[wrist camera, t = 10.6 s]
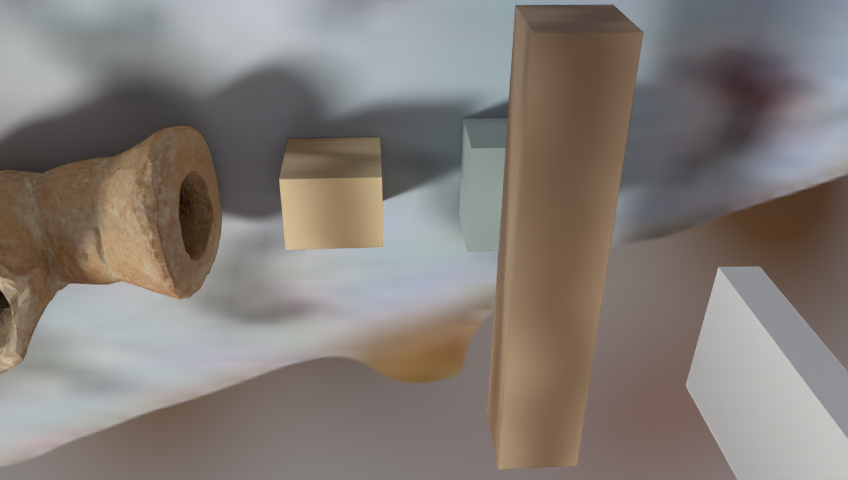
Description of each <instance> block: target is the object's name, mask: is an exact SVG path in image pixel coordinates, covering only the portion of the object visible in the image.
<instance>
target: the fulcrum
mask: <svg viewBox="0 0 848 480" xmlns="http://www.w3.org/2000/svg"><path fill="white" fill-rule="evenodd" d="M507 121H508V118H463V129H462V156H461V182H460V209H459V217H460V221H461V226H462V230H463V235H464V239H465V244H466V248H467V251H496V250H499V238H500V223H501V209H502V194H503V179H504V165H505V150H506V136H507Z"/></svg>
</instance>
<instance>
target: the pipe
mask: <svg viewBox="0 0 848 480" xmlns="http://www.w3.org/2000/svg"><path fill="white" fill-rule="evenodd" d="M221 223H222V208H221V204H220V198H219V184H218V180H217V176H216V172H215V168H214V163H213V159H212V156H211V152H210V149H209V146H208V144H207V142H206V140H205V138H204V136H203V135H202V134H201V133H200V132H199V131H198V130H197V129H196V128H194V127H190V126H181V125H177V126H174V127H169V128H163V129H161V130H159V131H157V132H155V133H153V134H152V135H151V136H149V137H148V138H147V139H145V140H144V141H142V142H141V143H139V144H137V145H136V146H134V147H132V148H130V149H128V150H126V151H124V152H122V153H120V154H118V155H116V156H112V157H99V158H93V159H87V160H82V161H77V162H72V163H68V164H65V165H62V166H59V167H56V168H53V169H50V170H48V171H46V172H45V173H38V172H25V171H17V170H0V374H1V373H5V372H7V371H8V370H9V369H12V368H14V367H15V366H16V365H18V364H19V363H21V362H22V361H23V359H24V357H25V355H26V352H27V348H28V345H29V342H30V340H31V337H32V334H33V332H34V330H35V328H36V326H37V323H38V321H39V319H40V318H41V316H42V314H43V312H44V310H45V308H46V307H47V305H48V303H49V302H50V301H51V300H52V299H53V297H54V296H55V294H56V293H57V291H59V290H61V289H63V288H64V287H66V286H67V285H68V284H70V283H78V284H111V283H116V282H120V281H124V282H127V283H130V284H134V285H137V286H140V287H143V288H145V289H148V290H151V291H153V292H157V293H160V294H163V295H167V296H170V297H174V298H177V299H184V298H189V297H191V296H192V295H193V294H194V293H196V292H197V291H198V290H199V289H200V288H201V286H202V284H203V282H204V280H205V278H206V276H207V275H208V274H209V272H210V269H211V267H212V264H213V263H214V261H215V257H216V254H217V250H218V246H219V241H220V236H221Z"/></svg>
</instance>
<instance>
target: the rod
mask: <svg viewBox="0 0 848 480" xmlns="http://www.w3.org/2000/svg"><path fill="white" fill-rule="evenodd" d="M642 37H643V32H642V31H641V30H640V29H639V28H638V27H637V26H636V25H635V24H634V23H632V22H631V21H630V20H629V19H628V18H627V17H626V16H625V15H624V14H623V13H622V12H620V11H619V10H618V9H617V8H616V7H615V6H614V5H515V19H514V34H513V48H512V63H511V77H510V92H509V106H508V121H507V136H506V150H505V165H504V179H503V194H502V209H501V223H500V238H499V252H498V267H497V281H496V296H495V311H494V325H493V326H494V327H493V340H492V355H491V369H490V385H489V398H488V413H487V414H488V419H489V424H490V429H491V434H492V439H493V444H494V449H495V455H496V460H497V465H498V469H514V468H537V467H559V466H577V461H578V455H579V448H580V442H581V435H582V428H583V422H584V415H585V409H586V403H587V396H588V390H589V383H590V376H591V370H592V364H593V357H594V350H595V344H596V337H597V331H598V324H599V317H600V311H601V305H602V298H603V292H604V285H605V279H606V272H607V266H608V259H609V252H610V246H611V240H612V233H613V227H614V220H615V213H616V207H617V200H618V194H619V187H620V181H621V174H622V168H623V161H624V155H625V148H626V142H627V135H628V129H629V122H630V116H631V109H632V103H633V96H634V90H635V83H636V77H637V70H638V63H639V57H640V50H641V44H642Z"/></svg>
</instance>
